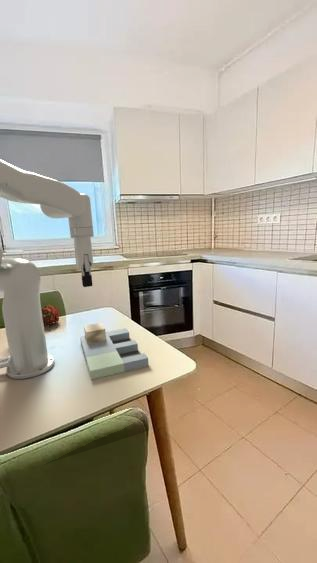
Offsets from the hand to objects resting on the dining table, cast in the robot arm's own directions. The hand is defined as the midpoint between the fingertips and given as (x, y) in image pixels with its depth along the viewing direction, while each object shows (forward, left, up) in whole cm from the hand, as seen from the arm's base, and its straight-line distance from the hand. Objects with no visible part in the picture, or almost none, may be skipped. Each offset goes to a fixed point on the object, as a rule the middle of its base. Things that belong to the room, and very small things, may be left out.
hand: (87, 286), depth 96 cm
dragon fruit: (-15, +21, -19) cm, 32 cm away
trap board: (+3, -17, -19) cm, 25 cm away
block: (0, -9, -16) cm, 18 cm away
